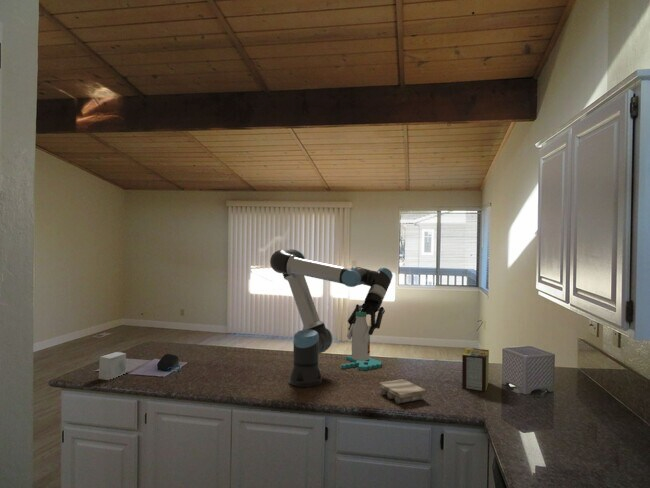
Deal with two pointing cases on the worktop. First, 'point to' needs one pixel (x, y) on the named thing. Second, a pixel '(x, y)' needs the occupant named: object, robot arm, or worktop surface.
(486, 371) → the protein box
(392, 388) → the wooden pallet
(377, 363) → the alien figure
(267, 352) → the worktop surface
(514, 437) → the worktop surface
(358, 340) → the milk bottle
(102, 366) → the skincare box
